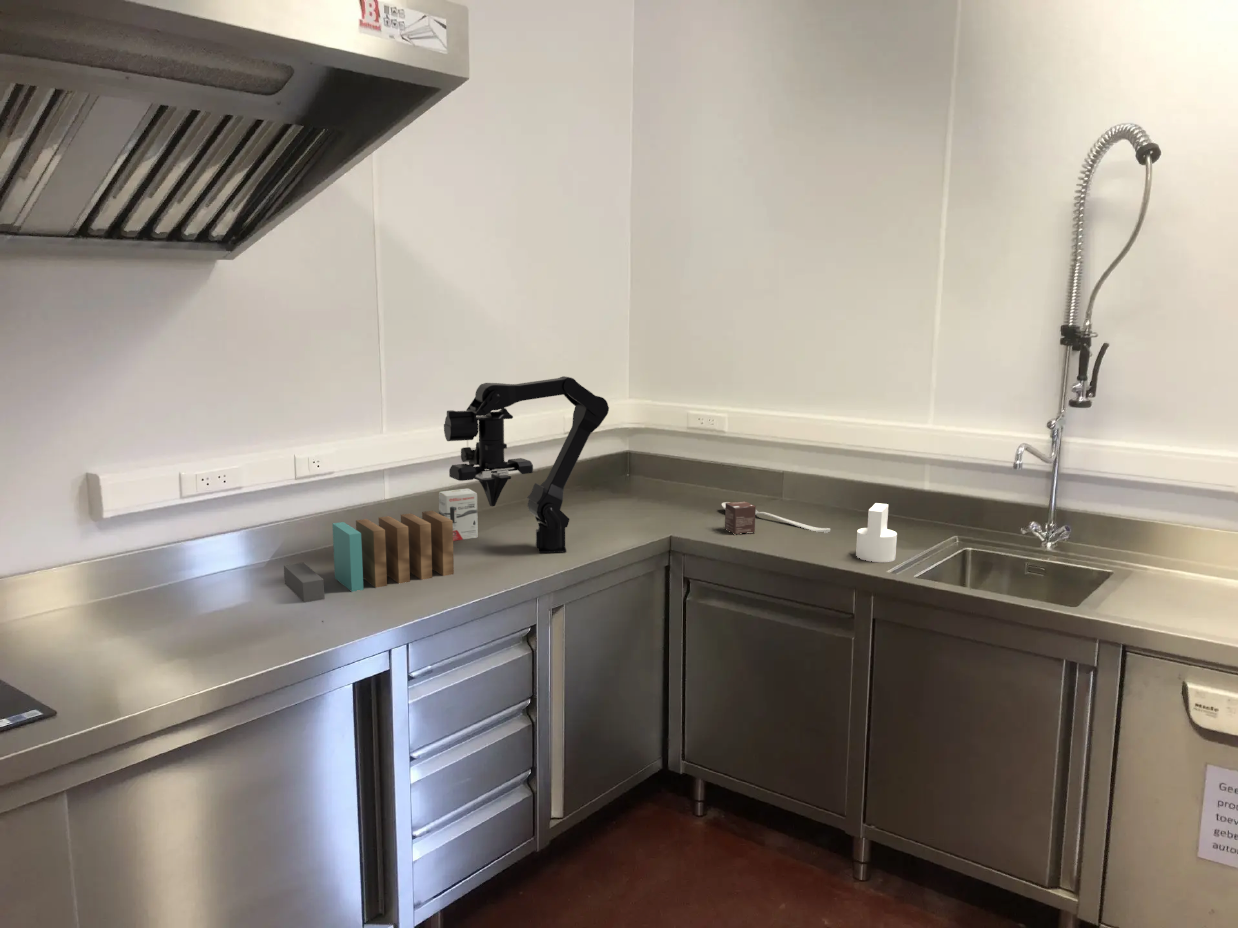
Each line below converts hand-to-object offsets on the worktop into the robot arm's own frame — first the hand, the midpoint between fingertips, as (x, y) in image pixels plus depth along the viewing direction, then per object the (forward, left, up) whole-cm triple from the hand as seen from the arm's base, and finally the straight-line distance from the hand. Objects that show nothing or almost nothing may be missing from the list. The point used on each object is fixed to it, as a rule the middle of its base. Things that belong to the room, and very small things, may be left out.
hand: (492, 505), depth 209 cm
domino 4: (+17, +10, -12) cm, 23 cm away
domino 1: (+30, +17, -12) cm, 37 cm away
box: (-64, -15, -12) cm, 67 cm away
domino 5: (+12, +8, -12) cm, 19 cm away
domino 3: (+21, +12, -12) cm, 28 cm away
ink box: (+8, -18, -12) cm, 23 cm away
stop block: (+39, +21, -12) cm, 45 cm away
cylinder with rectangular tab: (-89, +12, -12) cm, 91 cm away
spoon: (-77, -25, -13) cm, 82 cm away
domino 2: (+26, +15, -12) cm, 32 cm away
